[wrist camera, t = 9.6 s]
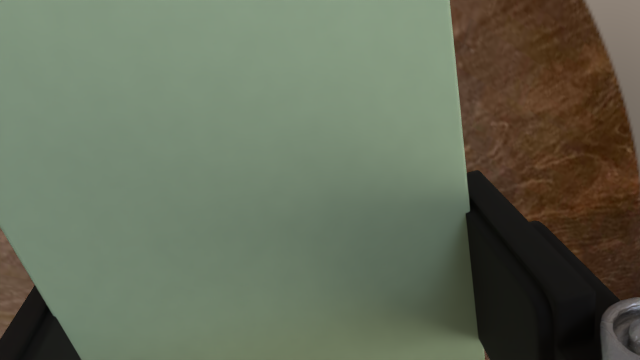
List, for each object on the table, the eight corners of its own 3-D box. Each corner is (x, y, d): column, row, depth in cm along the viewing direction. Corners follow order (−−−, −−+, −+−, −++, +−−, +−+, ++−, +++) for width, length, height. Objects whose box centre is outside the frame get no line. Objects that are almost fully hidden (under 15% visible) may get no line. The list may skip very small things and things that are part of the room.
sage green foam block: (-31, -1, 9) (-128, 20, 6) (393, -105, 9) (439, -121, 6) (209, 471, 14) (201, 566, 12) (462, 406, 14) (498, 489, 12)
